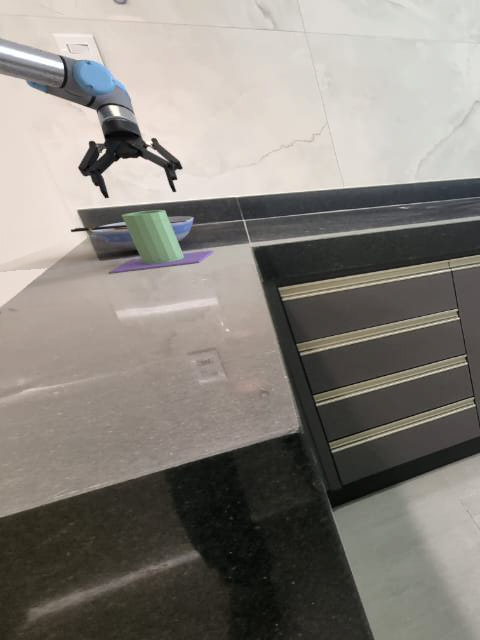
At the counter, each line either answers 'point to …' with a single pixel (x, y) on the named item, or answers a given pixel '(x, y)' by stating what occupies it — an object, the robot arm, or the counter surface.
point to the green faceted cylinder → (153, 236)
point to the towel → (139, 265)
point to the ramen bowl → (122, 238)
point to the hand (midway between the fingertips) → (139, 191)
